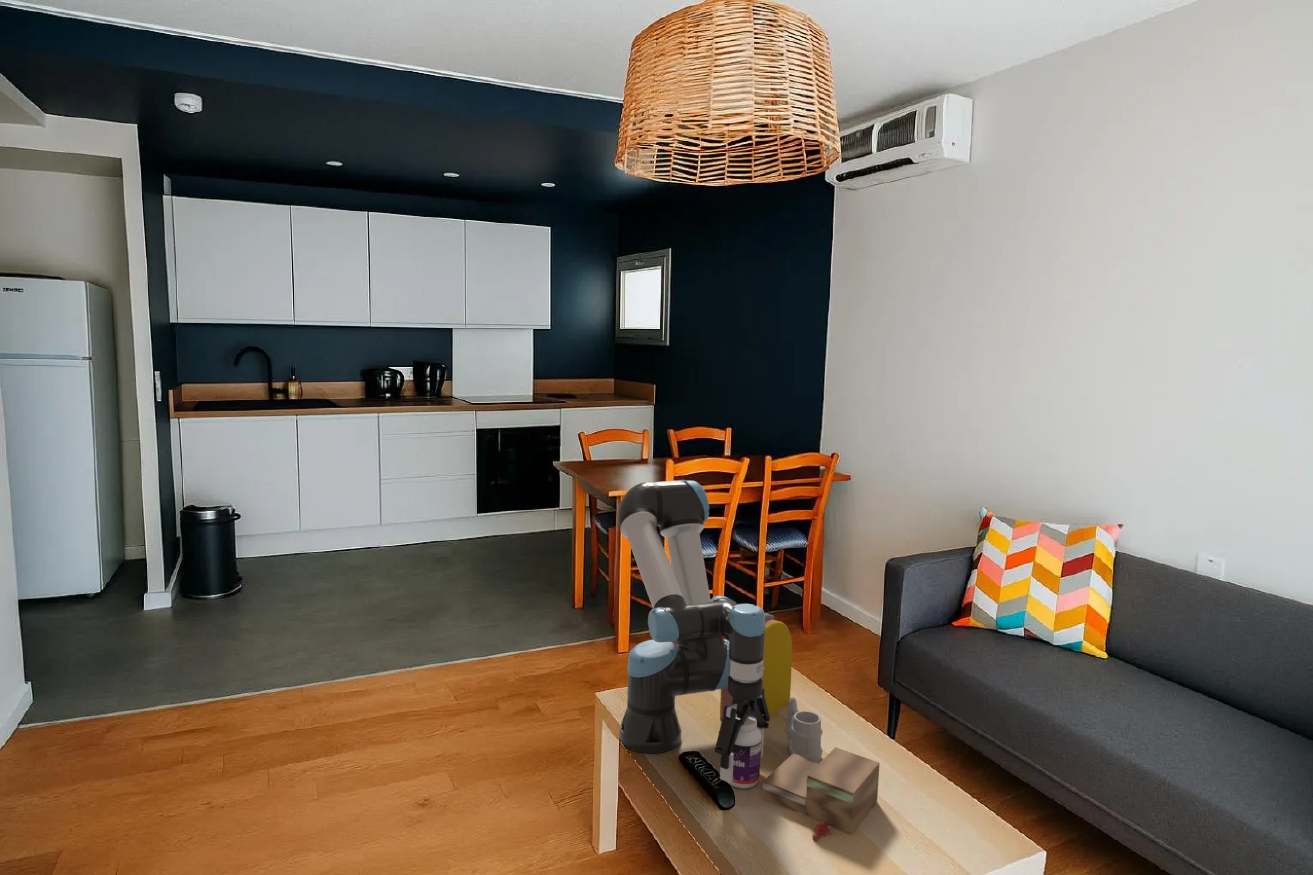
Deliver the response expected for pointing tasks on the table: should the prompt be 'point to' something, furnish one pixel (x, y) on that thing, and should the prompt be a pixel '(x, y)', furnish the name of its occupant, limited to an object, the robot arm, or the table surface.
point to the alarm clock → (772, 667)
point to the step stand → (826, 789)
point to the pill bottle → (747, 755)
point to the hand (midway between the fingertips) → (742, 766)
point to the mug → (803, 732)
